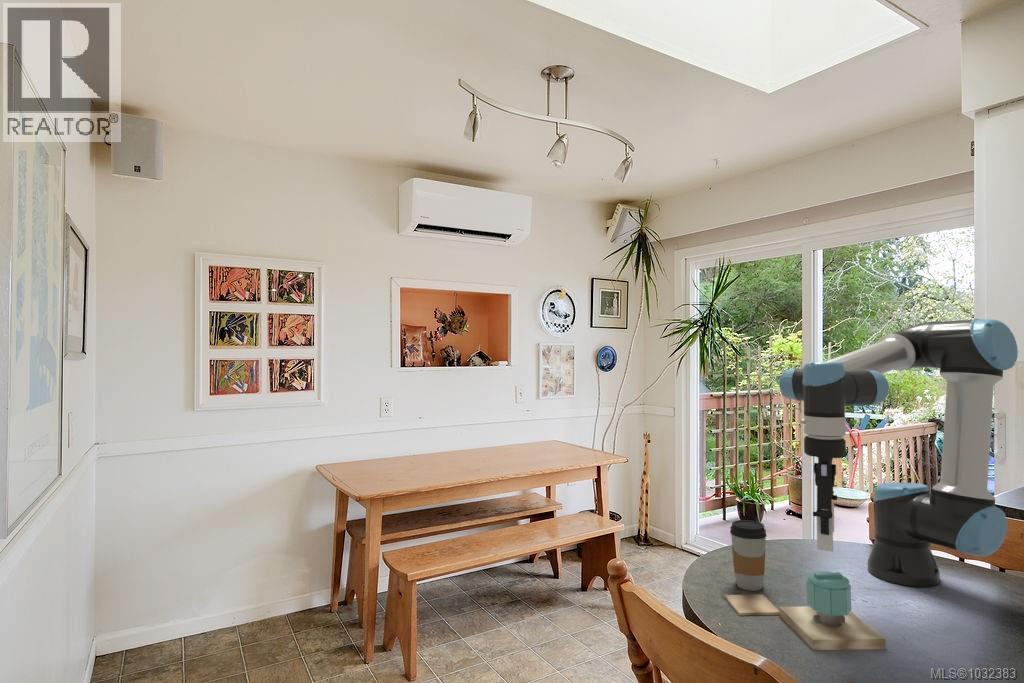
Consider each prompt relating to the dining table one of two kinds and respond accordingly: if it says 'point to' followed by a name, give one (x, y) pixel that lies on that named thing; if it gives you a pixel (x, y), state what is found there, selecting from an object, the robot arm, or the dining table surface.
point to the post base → (831, 630)
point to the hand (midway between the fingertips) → (826, 540)
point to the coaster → (751, 605)
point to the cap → (829, 593)
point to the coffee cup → (748, 553)
